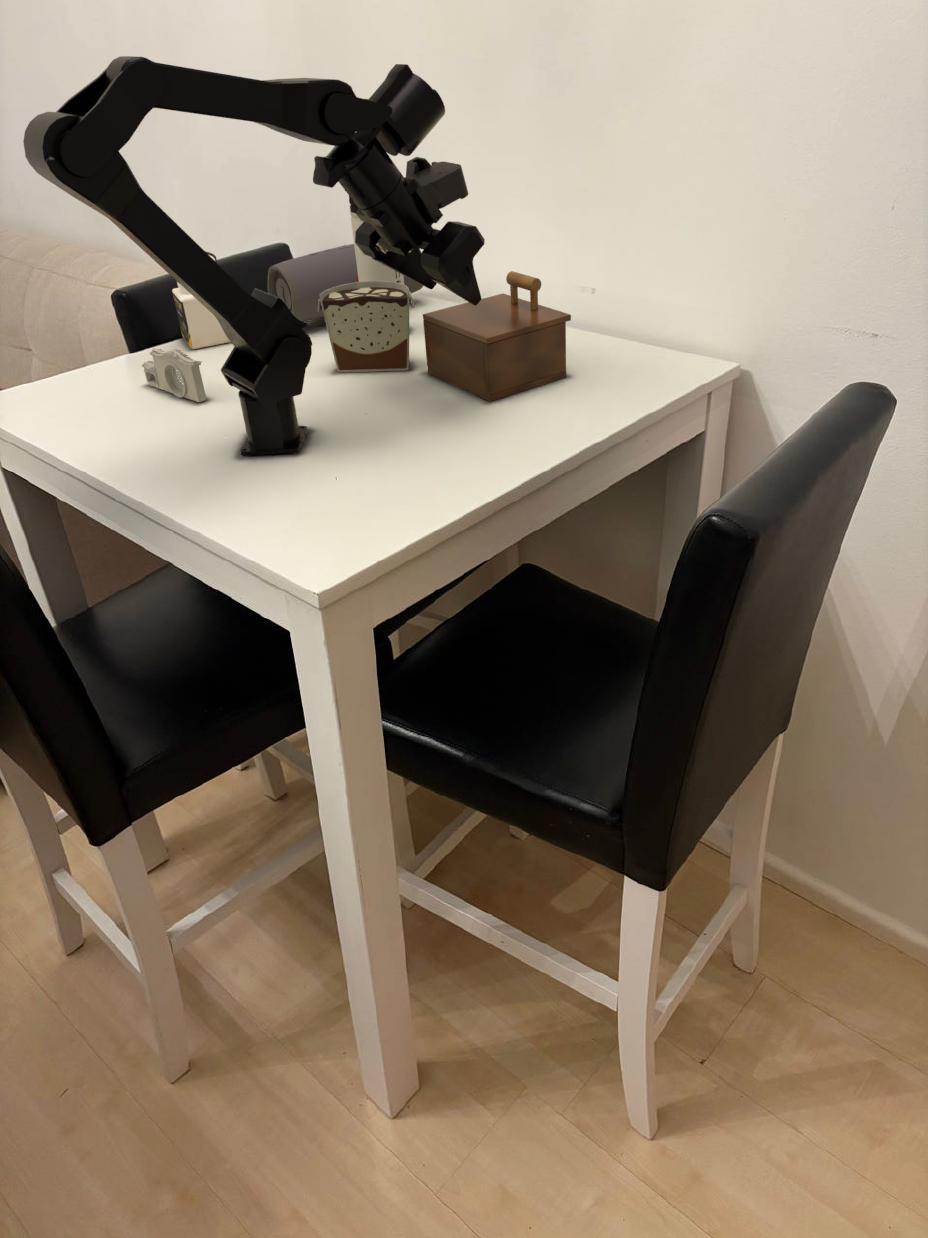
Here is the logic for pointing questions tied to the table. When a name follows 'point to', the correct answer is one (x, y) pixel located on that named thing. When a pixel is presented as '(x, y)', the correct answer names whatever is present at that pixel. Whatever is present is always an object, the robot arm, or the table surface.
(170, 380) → the grey toy camera
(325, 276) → the bluetooth speaker
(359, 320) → the food container
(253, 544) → the table surface
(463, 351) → the tea box
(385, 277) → the travel mug
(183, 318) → the medicine bottle
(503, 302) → the tea box lid
